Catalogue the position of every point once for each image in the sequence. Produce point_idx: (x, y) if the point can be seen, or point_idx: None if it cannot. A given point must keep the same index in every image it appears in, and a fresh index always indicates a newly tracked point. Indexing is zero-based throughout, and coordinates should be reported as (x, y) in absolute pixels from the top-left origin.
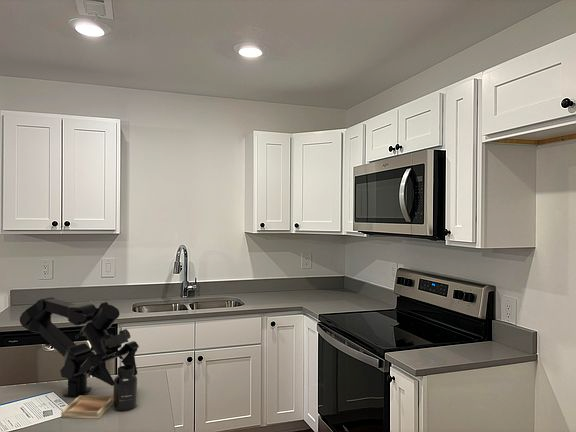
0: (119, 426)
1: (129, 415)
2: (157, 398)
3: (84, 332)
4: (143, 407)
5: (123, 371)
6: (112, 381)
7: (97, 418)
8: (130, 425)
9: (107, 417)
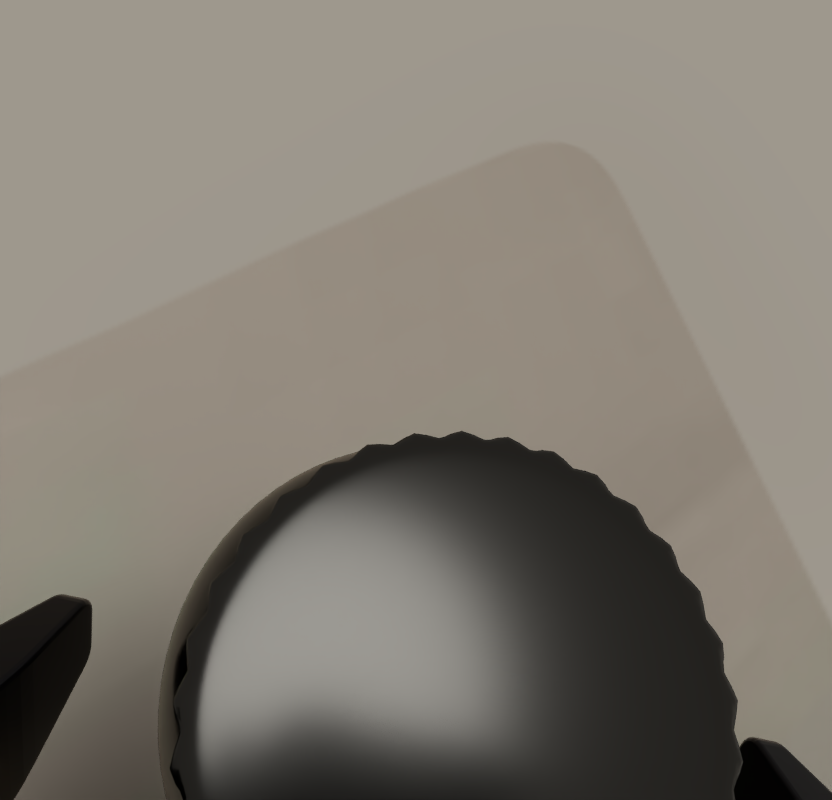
0: (736, 463)
1: None
2: (99, 424)
3: None
4: None
5: (688, 617)
6: (820, 790)
7: None
8: (682, 385)
9: None
